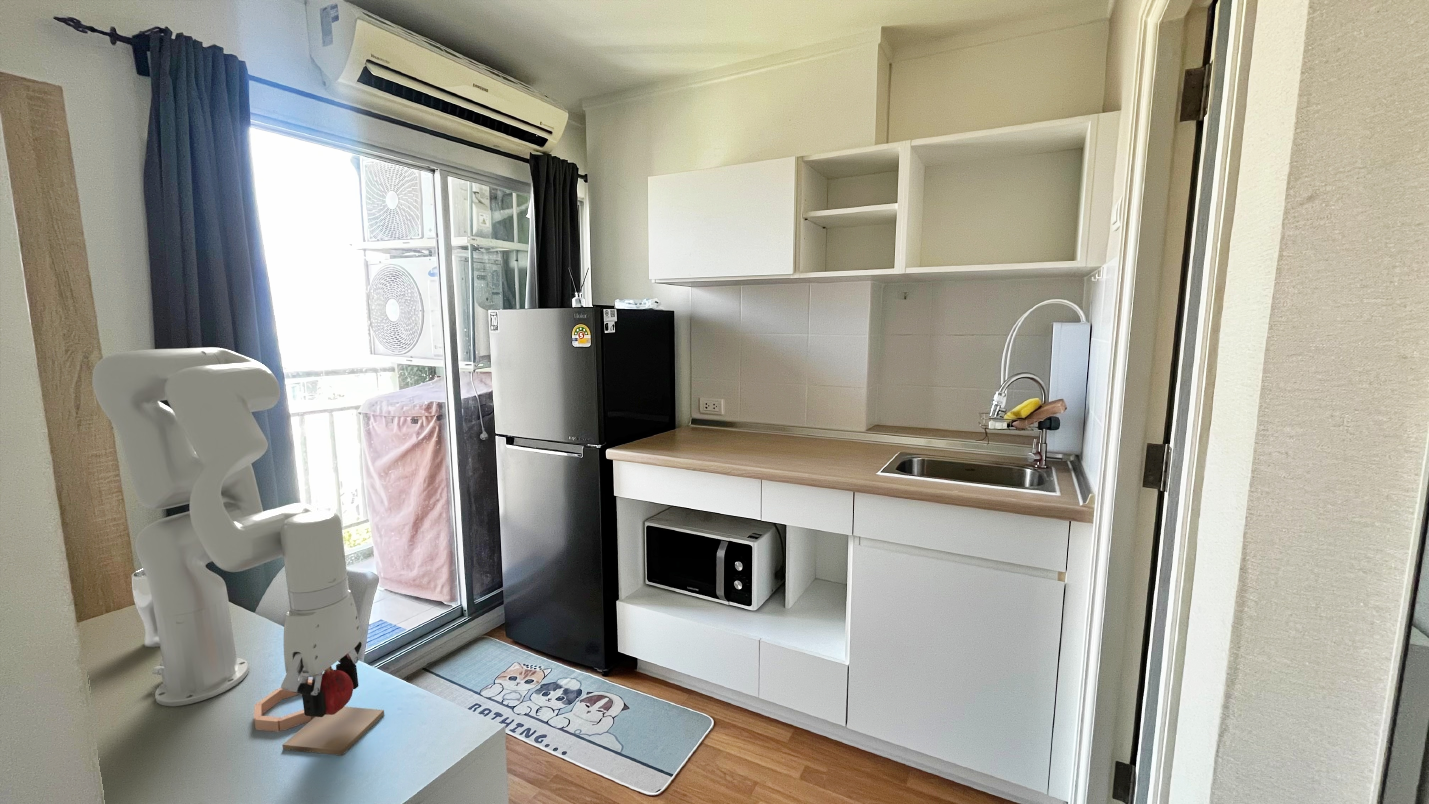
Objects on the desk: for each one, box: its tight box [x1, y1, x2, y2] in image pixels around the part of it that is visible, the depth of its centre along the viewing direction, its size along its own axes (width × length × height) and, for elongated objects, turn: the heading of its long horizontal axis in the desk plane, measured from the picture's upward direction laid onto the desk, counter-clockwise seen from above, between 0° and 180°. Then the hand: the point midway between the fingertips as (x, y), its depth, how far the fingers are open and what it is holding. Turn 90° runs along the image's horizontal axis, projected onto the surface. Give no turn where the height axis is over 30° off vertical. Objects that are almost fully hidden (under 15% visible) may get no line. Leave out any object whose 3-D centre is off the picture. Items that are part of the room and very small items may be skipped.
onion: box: [320, 665, 354, 715], centre depth 90 cm, size 6×6×8 cm
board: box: [281, 706, 385, 756], centre depth 91 cm, size 10×9×1 cm
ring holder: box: [253, 678, 315, 733], centre depth 96 cm, size 10×10×2 cm
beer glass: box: [131, 568, 160, 648], centre depth 116 cm, size 7×7×15 cm
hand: (332, 699), depth 90 cm, fingers closed on onion, 5 cm apart
